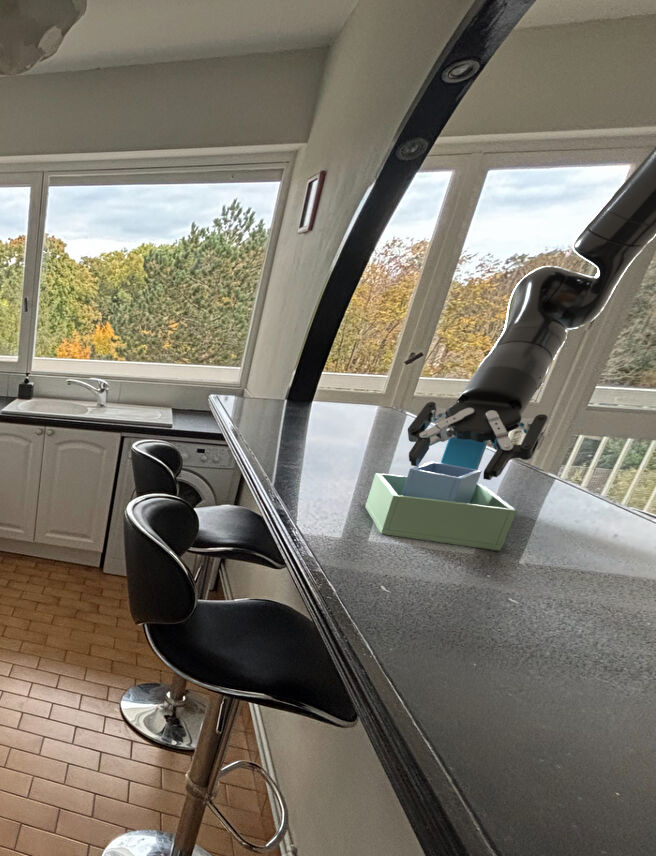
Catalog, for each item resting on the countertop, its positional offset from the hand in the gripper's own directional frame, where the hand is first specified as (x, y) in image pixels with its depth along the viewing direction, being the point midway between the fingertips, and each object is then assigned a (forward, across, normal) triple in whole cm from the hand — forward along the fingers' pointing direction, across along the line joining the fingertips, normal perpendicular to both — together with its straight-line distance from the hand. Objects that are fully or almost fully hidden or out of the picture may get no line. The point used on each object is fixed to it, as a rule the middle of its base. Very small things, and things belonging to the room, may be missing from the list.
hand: (448, 469), depth 84 cm
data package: (-4, -3, +17) cm, 18 cm away
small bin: (+6, 0, +5) cm, 8 cm away
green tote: (+7, 0, +6) cm, 9 cm away
